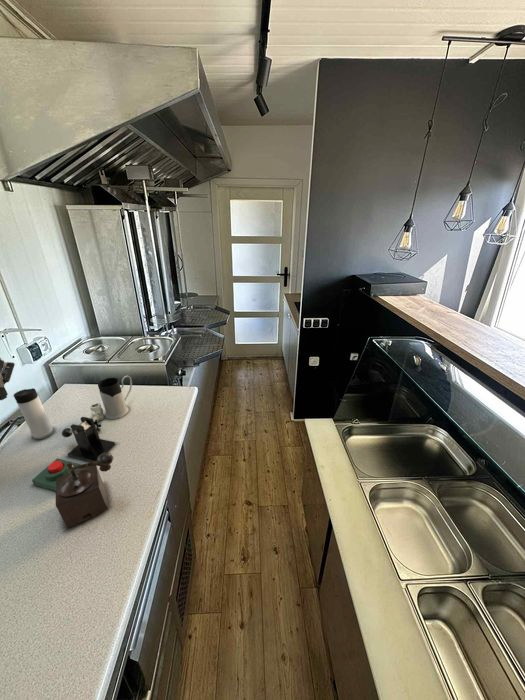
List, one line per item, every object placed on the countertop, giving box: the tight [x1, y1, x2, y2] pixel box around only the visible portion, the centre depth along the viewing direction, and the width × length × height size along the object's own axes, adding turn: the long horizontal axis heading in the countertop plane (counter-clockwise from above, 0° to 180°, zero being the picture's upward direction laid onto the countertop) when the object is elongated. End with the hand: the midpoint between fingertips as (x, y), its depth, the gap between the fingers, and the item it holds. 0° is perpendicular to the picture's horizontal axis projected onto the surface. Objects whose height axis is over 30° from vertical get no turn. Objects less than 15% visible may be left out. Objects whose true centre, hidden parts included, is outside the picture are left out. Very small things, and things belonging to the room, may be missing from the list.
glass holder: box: [97, 375, 133, 420], centre depth 120 cm, size 9×14×15 cm, turn 151°
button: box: [47, 460, 63, 474], centre depth 90 cm, size 4×4×2 cm
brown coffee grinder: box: [55, 452, 114, 529], centre depth 80 cm, size 16×11×18 cm
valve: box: [89, 402, 105, 432], centre depth 113 cm, size 7×7×12 cm
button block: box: [31, 457, 82, 492], centre depth 91 cm, size 11×9×4 cm
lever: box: [61, 421, 90, 438], centre depth 99 cm, size 13×3×3 cm, turn 72°
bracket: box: [67, 416, 116, 463], centre depth 99 cm, size 12×9×13 cm
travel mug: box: [13, 388, 54, 440], centre depth 105 cm, size 6×7×20 cm
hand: (2, 398), depth 85 cm, fingers closed
